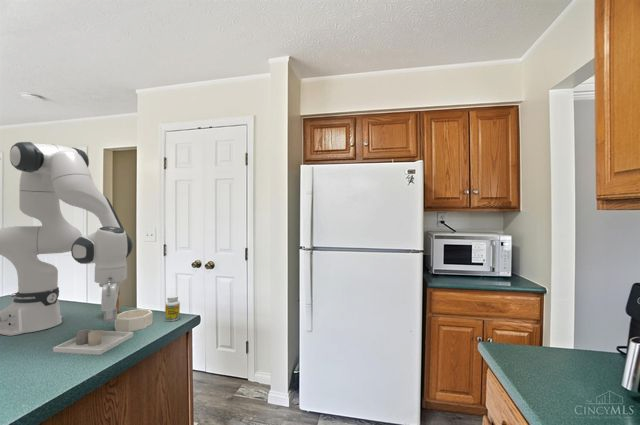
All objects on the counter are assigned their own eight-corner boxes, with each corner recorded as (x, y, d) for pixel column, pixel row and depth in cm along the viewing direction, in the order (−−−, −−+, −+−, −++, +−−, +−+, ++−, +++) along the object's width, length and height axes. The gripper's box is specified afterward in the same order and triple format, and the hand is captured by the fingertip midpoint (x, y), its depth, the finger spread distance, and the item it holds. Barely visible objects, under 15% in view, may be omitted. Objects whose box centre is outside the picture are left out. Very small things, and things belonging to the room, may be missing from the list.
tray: (52, 354, 91) (52, 347, 91) (91, 335, 105) (91, 330, 105) (100, 356, 89) (100, 350, 89) (133, 337, 103) (133, 332, 103)
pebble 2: (84, 345, 95) (85, 333, 95) (94, 341, 99) (94, 329, 99) (95, 346, 95) (95, 334, 95) (104, 341, 99) (104, 329, 99)
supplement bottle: (178, 316, 126) (179, 294, 126) (180, 320, 121) (180, 297, 122) (164, 318, 123) (165, 295, 123) (165, 322, 118) (166, 299, 119)
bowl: (107, 332, 108) (107, 318, 108) (130, 320, 120) (130, 308, 120) (137, 333, 107) (137, 320, 107) (157, 321, 119) (158, 309, 119)
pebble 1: (73, 345, 96) (73, 332, 96) (82, 340, 99) (83, 328, 99) (83, 345, 95) (83, 333, 96) (92, 340, 99) (93, 329, 99)
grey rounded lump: (100, 321, 97) (101, 309, 97) (111, 317, 100) (112, 305, 100) (108, 322, 96) (108, 310, 96) (119, 319, 99) (119, 307, 99)
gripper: (121, 281, 91) (120, 325, 91) (123, 268, 108) (122, 305, 108) (95, 283, 87) (94, 329, 87) (102, 270, 104) (101, 308, 105)
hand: (110, 315), depth 98 cm, fingers closed on grey rounded lump, 4 cm apart
